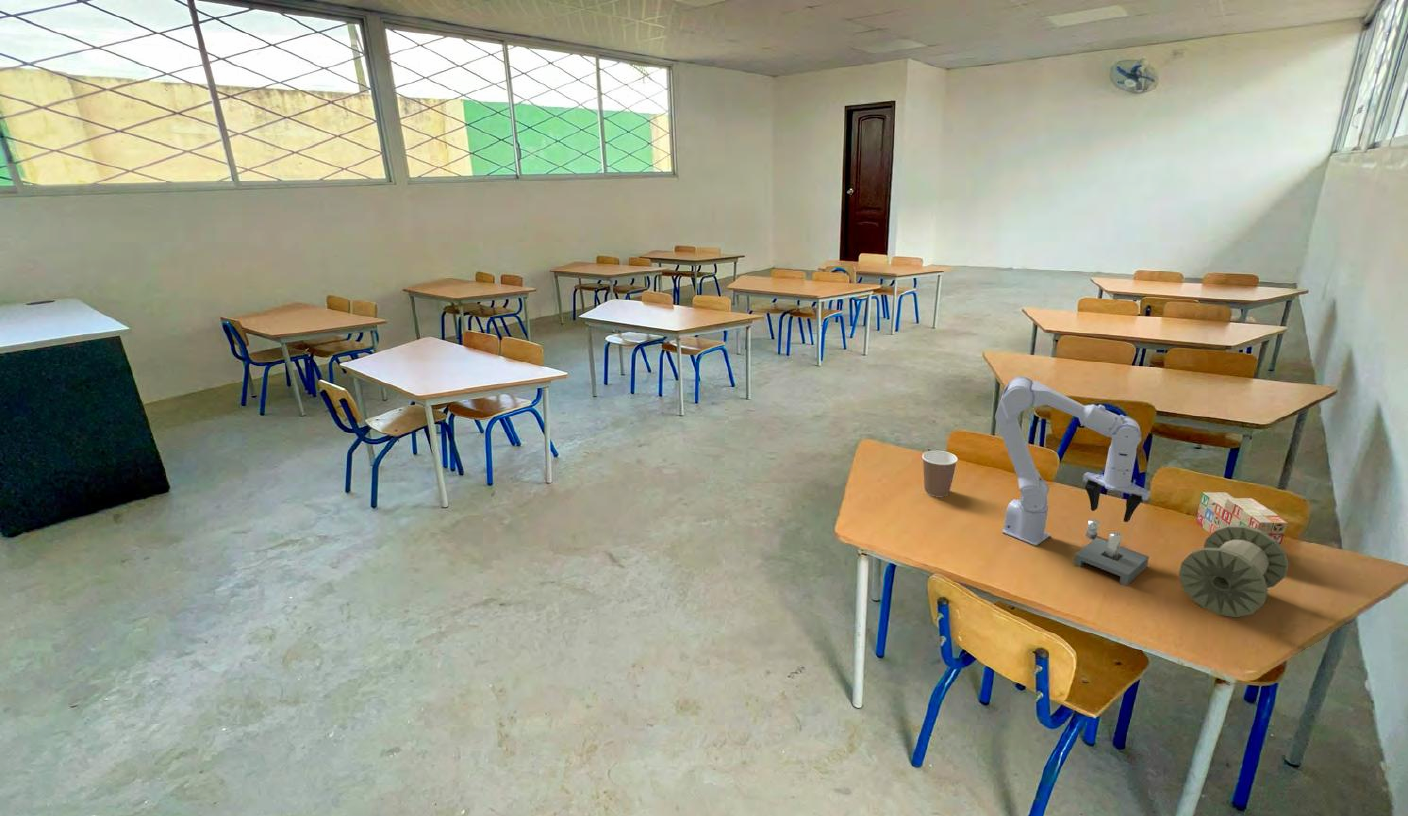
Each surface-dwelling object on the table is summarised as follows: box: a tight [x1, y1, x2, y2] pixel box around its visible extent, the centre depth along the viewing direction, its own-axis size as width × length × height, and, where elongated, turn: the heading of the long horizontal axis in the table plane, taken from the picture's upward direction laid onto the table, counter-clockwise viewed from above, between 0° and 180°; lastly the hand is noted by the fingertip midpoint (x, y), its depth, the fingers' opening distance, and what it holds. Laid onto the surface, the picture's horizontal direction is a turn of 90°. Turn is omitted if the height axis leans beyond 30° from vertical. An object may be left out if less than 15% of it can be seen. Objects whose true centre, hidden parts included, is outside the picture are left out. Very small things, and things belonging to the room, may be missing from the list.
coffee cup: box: [921, 450, 959, 498], centre depth 198 cm, size 10×10×12 cm
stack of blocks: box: [1195, 491, 1288, 545], centre depth 165 cm, size 21×6×12 cm, turn 174°
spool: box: [1178, 525, 1290, 618], centre depth 144 cm, size 16×15×15 cm
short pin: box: [1085, 518, 1101, 540], centre depth 172 cm, size 3×3×4 cm
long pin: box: [1104, 531, 1123, 561], centre depth 158 cm, size 3×3×9 cm
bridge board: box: [1073, 536, 1150, 587], centre depth 159 cm, size 12×12×3 cm
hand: (1110, 514), depth 163 cm, fingers open, 7 cm apart
